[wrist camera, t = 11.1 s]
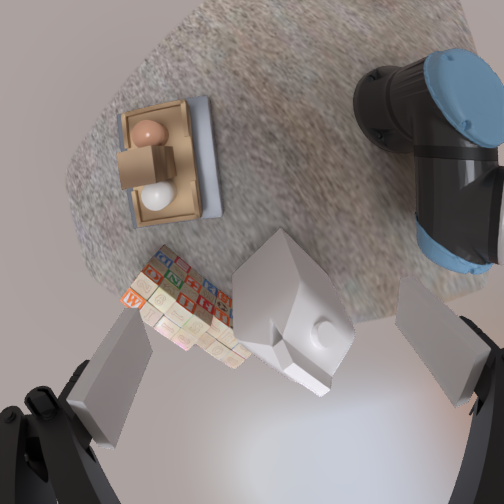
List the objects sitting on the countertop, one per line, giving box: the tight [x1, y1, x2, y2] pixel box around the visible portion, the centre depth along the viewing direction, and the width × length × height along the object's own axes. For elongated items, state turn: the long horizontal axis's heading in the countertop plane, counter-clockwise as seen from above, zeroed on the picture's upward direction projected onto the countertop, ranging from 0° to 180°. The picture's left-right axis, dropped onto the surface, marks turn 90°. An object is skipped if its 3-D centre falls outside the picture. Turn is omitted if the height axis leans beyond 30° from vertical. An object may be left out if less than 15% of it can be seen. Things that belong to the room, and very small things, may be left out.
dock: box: [117, 95, 224, 229], centre depth 43 cm, size 14×18×4 cm
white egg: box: [141, 179, 177, 211], centre depth 36 cm, size 4×4×4 cm
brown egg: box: [132, 120, 169, 148], centre depth 34 cm, size 4×4×4 cm
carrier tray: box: [116, 99, 203, 227], centre depth 35 cm, size 16×9×13 cm, turn 6°
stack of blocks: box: [120, 245, 252, 369], centre depth 46 cm, size 21×6×12 cm, turn 48°
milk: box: [232, 228, 355, 397], centre depth 39 cm, size 12×12×26 cm
